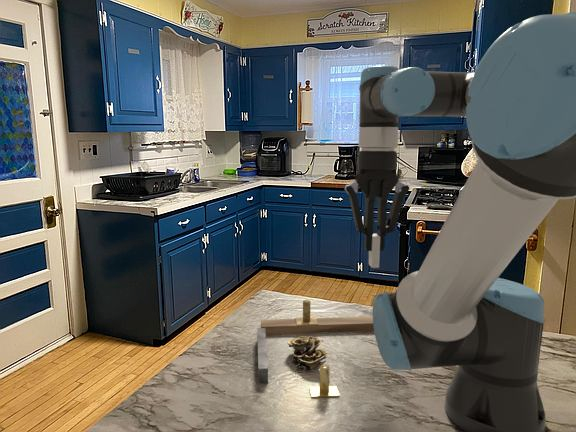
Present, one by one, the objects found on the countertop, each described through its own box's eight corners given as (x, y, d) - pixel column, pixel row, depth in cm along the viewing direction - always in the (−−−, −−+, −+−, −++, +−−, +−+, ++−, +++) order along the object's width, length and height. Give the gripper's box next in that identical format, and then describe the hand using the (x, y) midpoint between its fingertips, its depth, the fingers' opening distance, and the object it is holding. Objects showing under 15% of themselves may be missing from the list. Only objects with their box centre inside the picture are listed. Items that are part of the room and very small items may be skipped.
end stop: (268, 383, 84) (268, 368, 84) (258, 383, 84) (258, 368, 83) (265, 340, 102) (265, 328, 101) (257, 340, 102) (257, 328, 101)
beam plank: (385, 330, 107) (386, 302, 106) (261, 334, 105) (260, 305, 103) (380, 323, 111) (381, 296, 110) (260, 327, 109) (260, 299, 107)
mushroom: (327, 373, 88) (328, 353, 87) (290, 374, 88) (290, 353, 87) (321, 345, 100) (321, 327, 99) (288, 346, 100) (288, 328, 99)
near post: (339, 396, 80) (339, 371, 79) (311, 397, 79) (312, 372, 78) (336, 387, 83) (336, 362, 82) (309, 388, 82) (309, 363, 81)
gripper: (403, 149, 91) (398, 260, 95) (341, 149, 90) (338, 261, 94) (417, 150, 84) (411, 270, 88) (349, 150, 83) (346, 272, 87)
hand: (373, 265), depth 91 cm, fingers closed
